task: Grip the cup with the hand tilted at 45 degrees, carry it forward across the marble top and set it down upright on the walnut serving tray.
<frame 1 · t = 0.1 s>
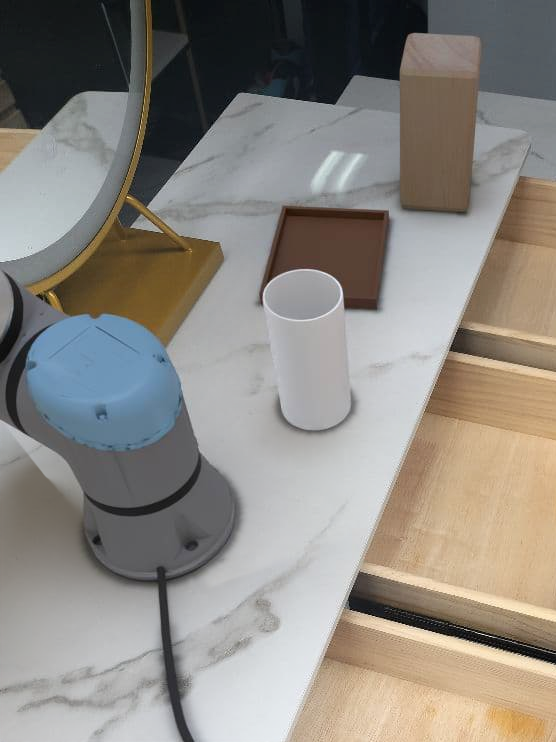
wooden block: (436, 194, 121), on the table
cup: (316, 405, 96), on the table
tray: (328, 260, 112), on the table
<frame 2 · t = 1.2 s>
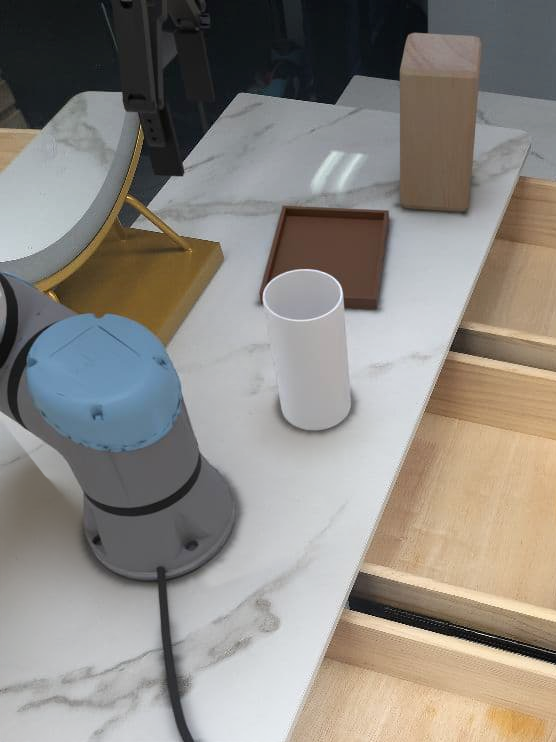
hand: (186, 135, 80), 27 cm above the table, tool pointing down, fingers open, 13 cm apart
nothing on the table moved.
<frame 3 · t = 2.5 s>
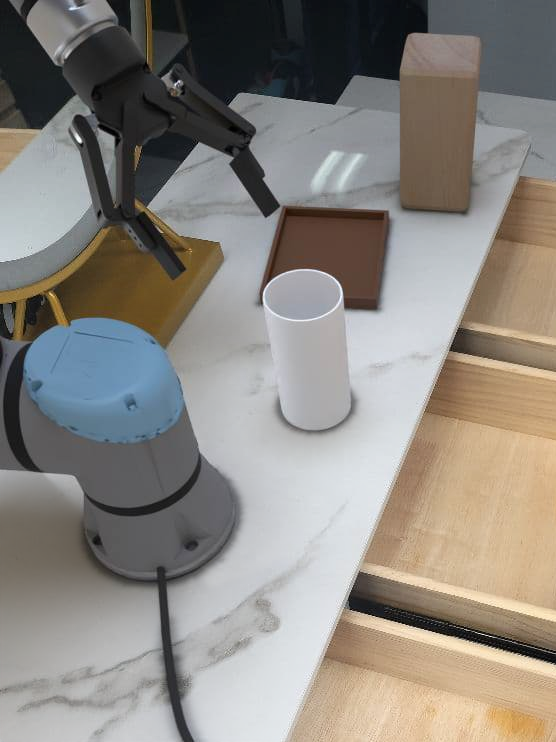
hand: (228, 243, 86), 17 cm above the table, tool tilted 45°, fingers open, 13 cm apart
nothing on the table moved.
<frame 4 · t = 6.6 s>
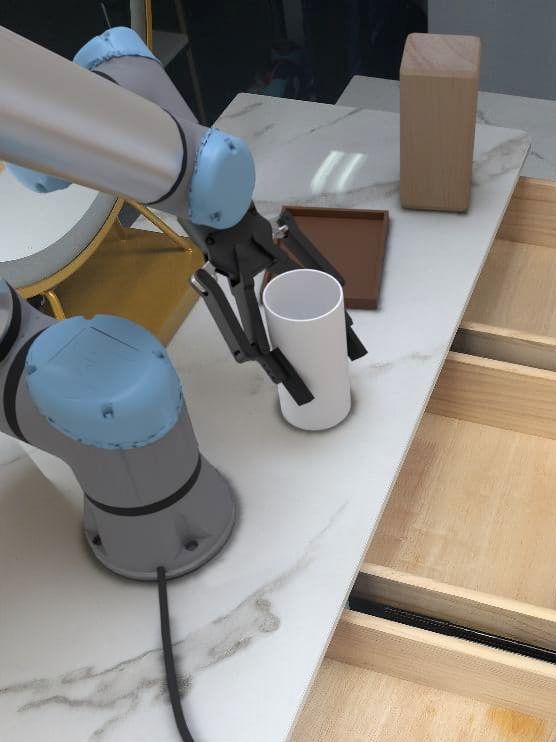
hand: (333, 379, 90), 6 cm above the table, tool tilted 45°, fingers closed on cup, 8 cm apart
cup: (316, 405, 96), on the table, touching gripper
everything else where it was.
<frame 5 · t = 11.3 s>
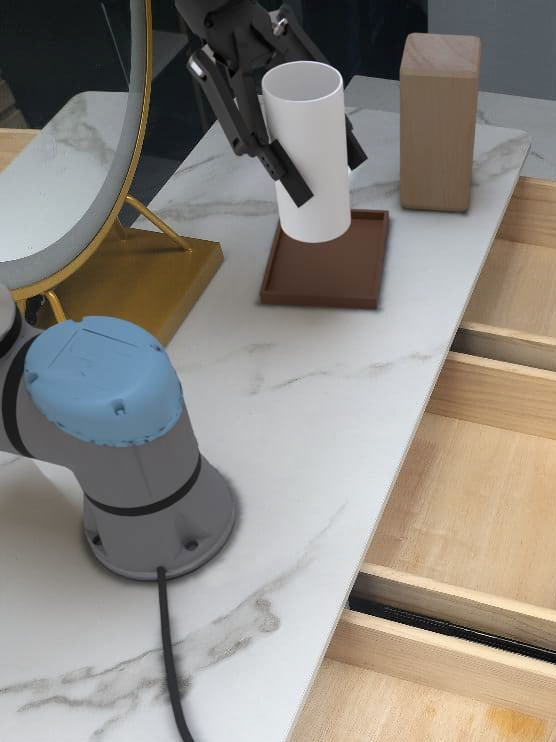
hand: (333, 182, 89), 19 cm above the table, tool tilted 45°, fingers closed on cup, 8 cm apart
cup: (315, 222, 96), point 13 cm above the table, touching gripper
everything else where it was.
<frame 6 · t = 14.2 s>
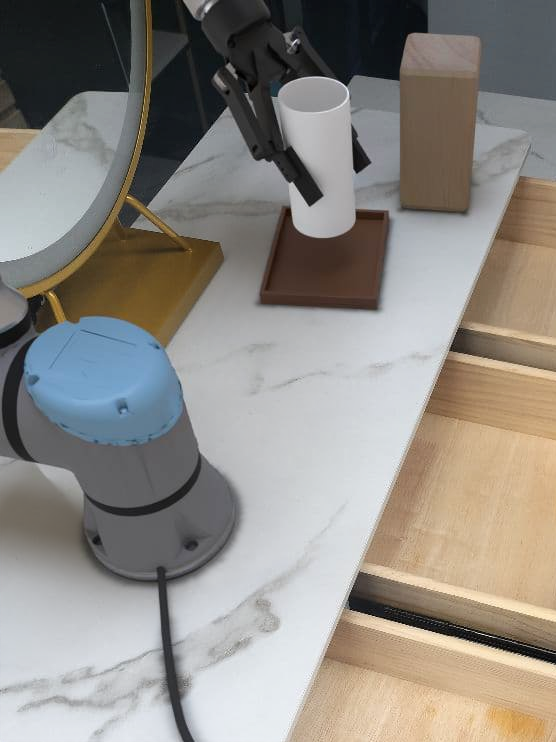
hand: (340, 184, 100), 12 cm above the table, tool tilted 45°, fingers closed on cup, 8 cm apart
cup: (324, 220, 107), point 6 cm above the table, touching gripper
everything else where it was.
when the fingers open (7 cm above the table, at t = 16.3 s): cup stays where it is, resting on tray.
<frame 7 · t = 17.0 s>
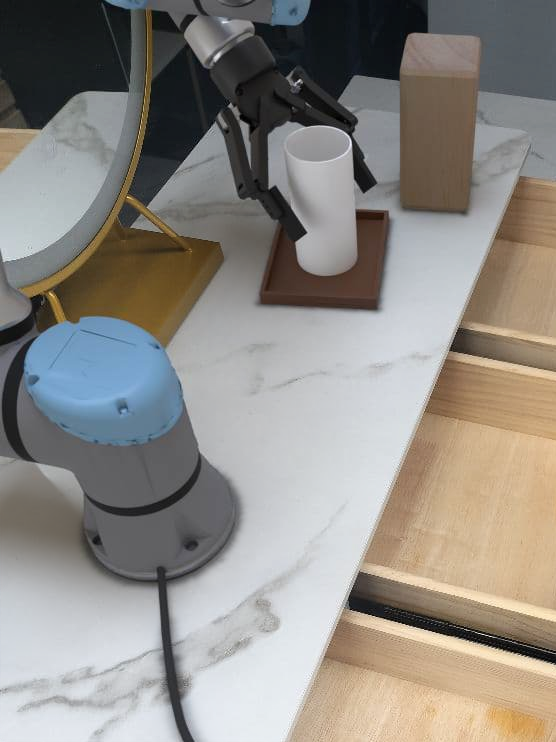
hand: (336, 213, 104), 8 cm above the table, tool tilted 45°, fingers open, 13 cm apart
cup: (327, 258, 111), resting on tray
everything else where it was.
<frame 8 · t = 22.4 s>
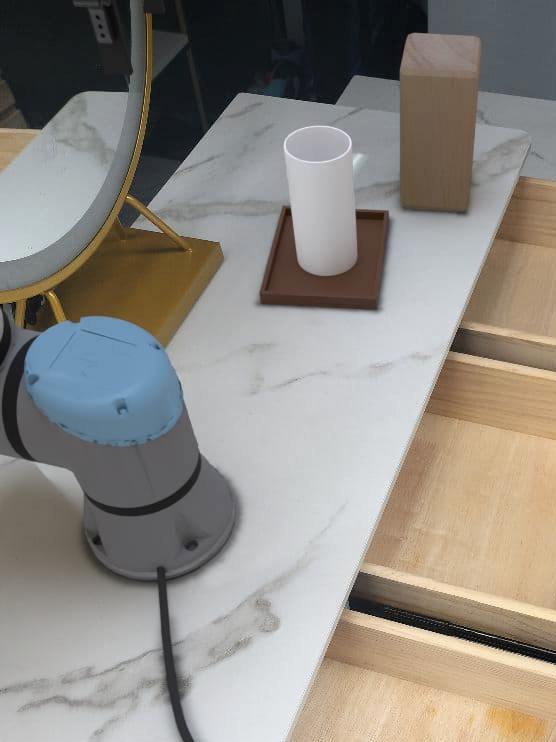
hand: (136, 41, 87), 29 cm above the table, tool pointing down, fingers open, 13 cm apart
nothing on the table moved.
at the end: cup inside the target area in the tray (0.0 cm from its centre), point 0.3 cm above the tray's base; cup tilted 0°; the gripper is holding nothing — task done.
